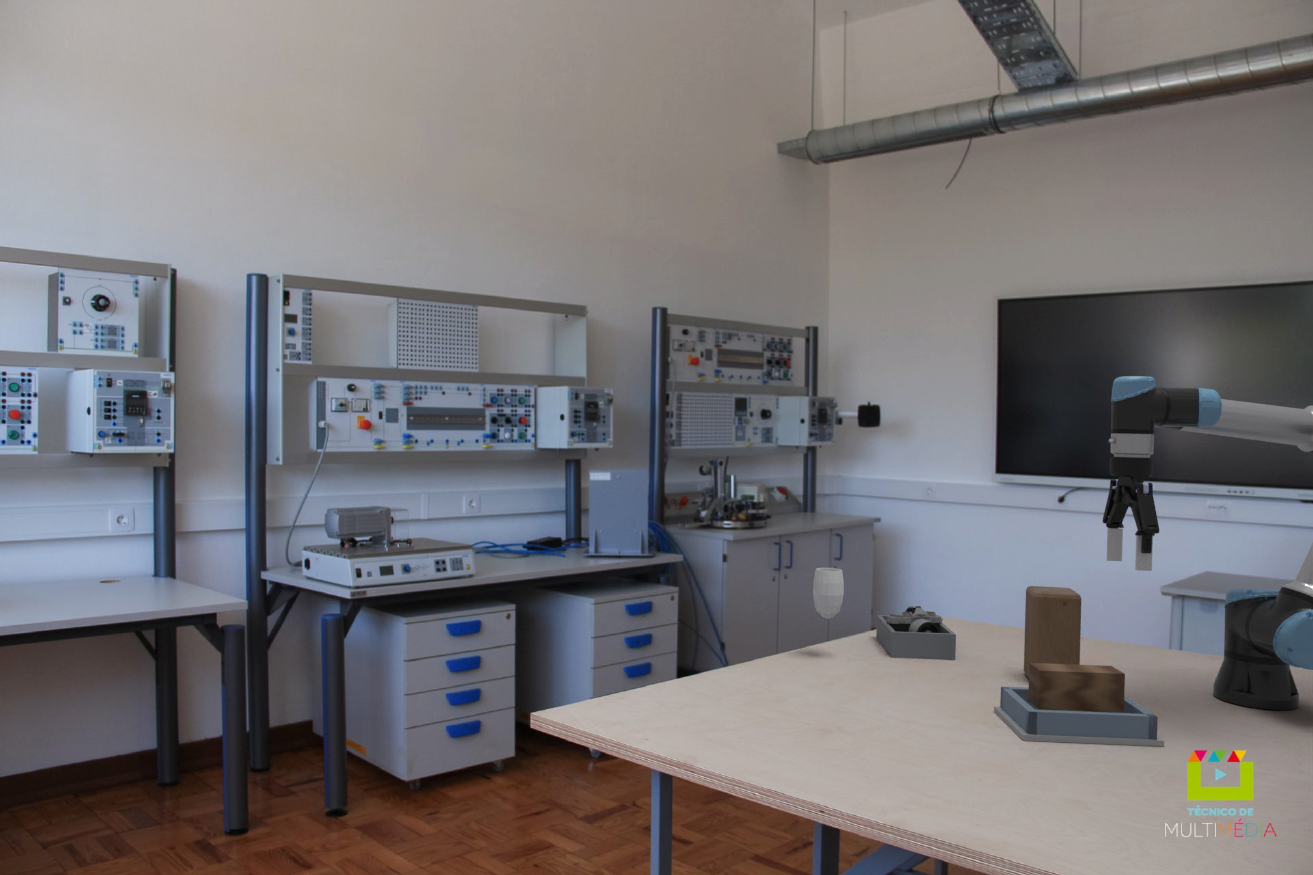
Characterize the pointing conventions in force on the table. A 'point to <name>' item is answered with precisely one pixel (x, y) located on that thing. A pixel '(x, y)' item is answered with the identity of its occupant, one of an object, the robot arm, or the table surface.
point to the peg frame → (1077, 722)
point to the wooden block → (1052, 626)
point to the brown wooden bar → (1076, 687)
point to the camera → (915, 621)
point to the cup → (828, 591)
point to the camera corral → (916, 642)
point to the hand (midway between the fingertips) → (1128, 565)
